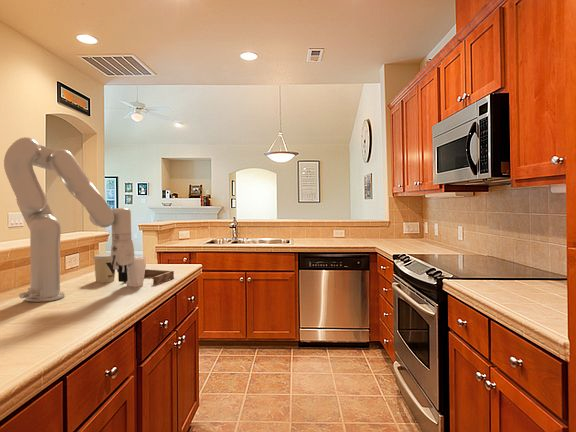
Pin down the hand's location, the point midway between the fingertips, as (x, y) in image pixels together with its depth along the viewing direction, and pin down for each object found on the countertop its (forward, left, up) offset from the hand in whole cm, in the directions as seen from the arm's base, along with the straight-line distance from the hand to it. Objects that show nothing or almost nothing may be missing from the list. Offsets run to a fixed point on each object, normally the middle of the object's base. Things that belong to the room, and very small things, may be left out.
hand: (123, 281), depth 166 cm
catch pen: (+21, +1, -4) cm, 21 cm away
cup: (+9, +1, -4) cm, 10 cm away
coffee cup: (+13, +19, -4) cm, 23 cm away
